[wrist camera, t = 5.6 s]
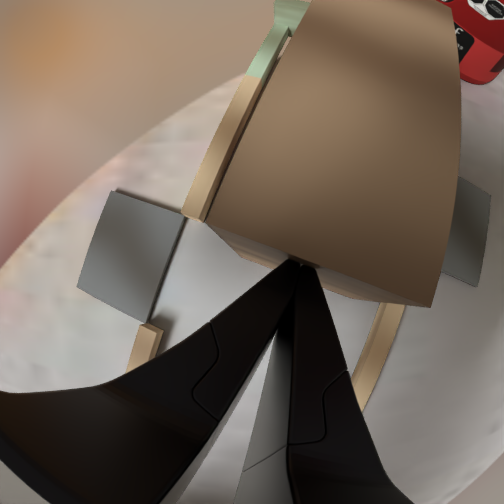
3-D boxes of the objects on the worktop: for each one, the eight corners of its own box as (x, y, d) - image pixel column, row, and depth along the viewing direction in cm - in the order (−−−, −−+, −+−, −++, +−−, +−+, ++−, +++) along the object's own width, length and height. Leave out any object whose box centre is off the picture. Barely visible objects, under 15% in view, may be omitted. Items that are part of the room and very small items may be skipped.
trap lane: (402, 462, 13) (420, 486, 10) (66, 338, 15) (35, 344, 12) (487, 112, 15) (507, 93, 12) (216, 17, 17) (209, -11, 14)
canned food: (402, 14, 16) (435, -76, 6) (472, 37, 16) (516, -33, 5) (429, 73, 16) (490, -31, 5) (502, 97, 15) (569, 28, 4)
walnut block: (352, 298, 14) (430, 307, 6) (241, 257, 15) (205, 222, 7) (404, 90, 16) (451, 8, 8) (319, 58, 16) (334, -37, 8)
